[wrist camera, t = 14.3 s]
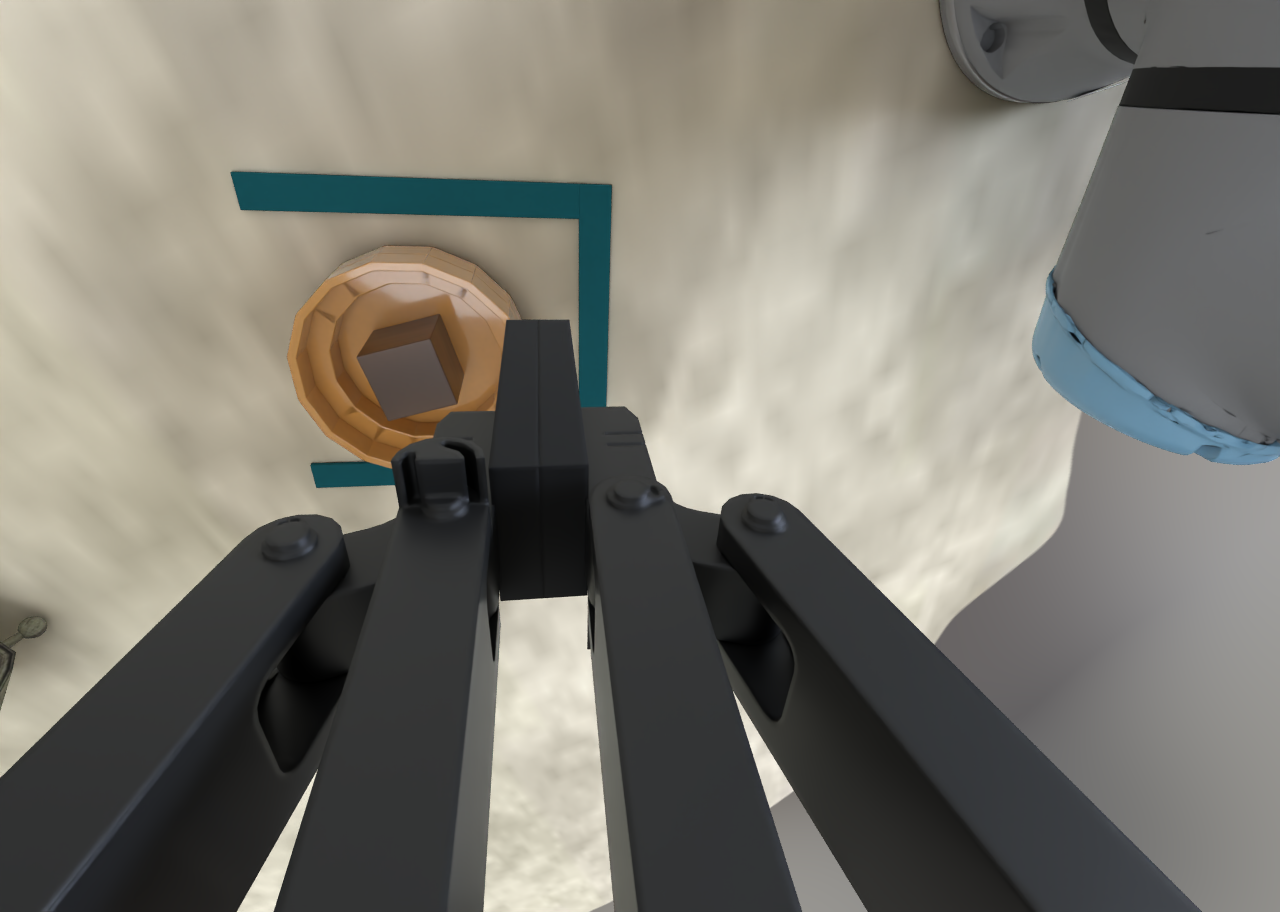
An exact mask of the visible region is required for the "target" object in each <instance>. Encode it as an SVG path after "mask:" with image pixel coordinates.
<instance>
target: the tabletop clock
mask: <svg viewBox="0 0 1280 912" xmlns="http://www.w3.org/2000/svg"><path fill="white" fill-rule="evenodd" d="M46 628H47V624H46V621H45V620H44V619H43V618H40V617H30V618H27V619H25V620H23V621H22V622H21V623H20V625H19V626H18V633H16V634H15V635H13V636H11V637H9V638H8V639H6V640H4V641H2V642H0V710H1V707H2V703H3V700H4V696H5V693H6V690H7V686H8V683H9V680H10V676H11V673H12V669H13V664H14V660H15V655H16V652H15V651H13V650H12V649H10V648H11V647H12V646H13V645H15V644H16V643H17V642H18V641H20V640H21V639H22V638H36V637H39V636H40V635H42V634H43V633H44V632H45V630H46Z"/></svg>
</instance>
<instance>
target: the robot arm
mask: <svg viewBox="0 0 1280 912" xmlns="http://www.w3.org/2000/svg"><path fill="white" fill-rule="evenodd" d="M939 1H940V11H941V19H942V24H943V29H944V33H945V36H946V40H947V43H948V45H949V48H950V50H951V53H952V55H953V57H954V59H955V60H956V62H957V64H958V66H959V67H960V68H961V70H962V71H963V73H964V74H965V75H966V76H967V77H968V78H969V79H970V81H971V82H972V83H974V84H975V85H976V86H977V87H979V88H980V89H981V90H983V91H985V92H986V93H988V94H990V95H992V96H994V97H997V98H999V99H1003V100H1007V101H1013V102H1022V103H1049V102H1057V101H1061V100H1067V99H1072V98H1075V99H1078V98H1081V97H1084V96H1087V95H1090V94H1093V93H1096V92H1099V91H1102V90H1105V89H1108V88H1111V87H1114V86H1117V85H1119V84H1122V83H1124V82H1122V83H1119V84H1116V85H1113V86H1110V87H1107V88H1104V89H1101V88H1103V87H1106V86H1108V85H1110V84H1113V83H1115V82H1118V81H1120V80H1123V79H1125V78H1127V77H1130V78H1129V80H1128V83H1127V86H1126V89H1125V91H1124V94H1123V97H1122V99H1121V102H1120V104H1119V106H1118V108H1117V110H1116V113H1115V115H1114V118H1113V121H1112V123H1111V126H1110V129H1109V131H1108V134H1107V136H1106V139H1105V142H1104V144H1103V147H1102V150H1101V152H1100V155H1099V158H1098V160H1097V163H1096V165H1095V168H1094V171H1093V173H1092V176H1091V179H1090V181H1089V184H1088V186H1087V189H1086V192H1085V194H1084V197H1083V199H1082V202H1081V204H1080V207H1079V209H1078V212H1077V214H1076V217H1075V219H1074V222H1073V224H1072V227H1071V229H1070V232H1069V234H1068V237H1067V239H1066V242H1065V244H1064V247H1063V249H1062V252H1061V254H1060V257H1059V259H1058V262H1057V264H1056V265H1055V266H1054V268H1053V270H1052V271H1051V272H1050V273H1049V276H1048V278H1047V281H1046V298H1045V301H1044V304H1043V307H1042V310H1041V313H1040V316H1039V319H1038V322H1037V325H1036V328H1035V331H1034V335H1033V340H1032V351H1033V356H1034V359H1035V361H1036V364H1037V366H1038V368H1039V369H1040V370H1041V371H1042V374H1043V376H1044V378H1045V379H1046V381H1047V382H1048V383H1049V384H1050V385H1051V386H1052V388H1053V389H1054V390H1056V391H1057V392H1058V393H1059V394H1060V395H1061V396H1062V397H1063V398H1065V399H1066V400H1067V401H1068V402H1070V403H1071V404H1072V405H1074V406H1075V407H1077V408H1078V409H1080V410H1081V411H1083V412H1084V413H1086V414H1087V415H1089V416H1091V417H1093V418H1094V419H1096V420H1098V421H1100V422H1101V423H1103V424H1105V425H1107V426H1109V427H1111V428H1113V429H1115V430H1117V431H1119V432H1121V433H1123V434H1126V435H1128V436H1130V437H1132V438H1134V439H1137V440H1139V441H1142V442H1144V443H1147V444H1149V445H1152V446H1155V447H1158V448H1161V449H1164V450H1167V451H1170V452H1174V453H1177V454H1181V455H1189V454H1191V453H1193V452H1194V453H1196V454H1198V455H1200V456H1202V457H1204V458H1205V459H1207V460H1209V461H1211V462H1217V463H1223V464H1233V465H1250V464H1258V463H1266V462H1269V461H1272V460H1274V459H1276V458H1278V457H1280V0H939ZM1125 82H1127V81H1125ZM1098 89H1101V90H1098ZM1096 90H1098V91H1096ZM1093 91H1095V92H1093ZM1091 92H1092V93H1091ZM1082 95H1083V96H1082ZM1079 96H1080V97H1079ZM1076 97H1078V98H1076ZM1075 99H1073V100H1075ZM1070 101H1072V100H1070ZM1068 102H1069V101H1068ZM391 466H392V471H393V476H394V482H395V487H396V492H397V497H398V503H399V510H398V513H397V516H396V518H395V519H393V520H391V521H388V522H386V523H384V524H381V525H378V526H375V527H372V528H368V529H364V530H360V531H356V532H352V533H348V534H344V535H343V533H342V530H341V526H340V525H339V524H338V523H337V522H335V521H334V520H333V519H332V518H328V517H324V516H321V515H317V514H316V515H295V516H290V517H285V518H282V519H278V520H275V521H273V522H271V523H268V524H266V525H264V526H262V527H259V528H258V529H257V530H255V531H254V532H252V533H251V534H250V535H248V536H247V537H246V538H244V539H243V540H242V541H241V542H240V543H239V544H238V545H237V546H236V547H235V548H234V549H233V550H232V551H231V552H230V553H229V554H228V555H227V556H226V557H225V558H224V559H223V560H222V561H221V562H220V563H219V564H218V565H217V566H216V567H215V568H214V569H213V570H212V571H211V572H210V573H209V574H208V575H207V576H206V577H205V578H204V579H203V580H202V581H201V582H200V583H199V584H197V585H196V586H195V587H194V588H193V589H192V590H191V591H190V592H189V593H188V594H187V595H186V596H185V597H184V598H183V599H182V600H181V601H180V602H179V603H178V604H177V605H176V606H175V607H174V608H173V609H172V610H171V611H170V612H169V613H168V614H167V615H166V616H165V617H164V618H163V619H162V620H161V621H160V622H159V623H158V624H157V625H156V626H155V627H154V628H153V629H152V630H151V631H150V632H149V633H148V634H147V635H146V636H145V637H143V638H142V639H141V640H140V641H139V642H138V643H137V644H136V645H135V646H134V647H133V648H132V649H131V650H130V651H129V652H128V653H127V654H126V655H125V656H124V657H123V658H122V659H121V660H120V661H119V662H118V663H117V664H116V665H115V666H114V667H113V668H112V669H111V670H110V671H109V672H108V673H107V674H106V675H105V676H104V677H103V678H102V679H101V680H100V681H99V682H98V683H97V684H96V685H95V686H94V687H93V688H92V689H91V690H89V691H88V692H87V693H86V694H85V695H84V696H83V697H82V698H81V699H80V700H79V701H78V702H77V703H76V704H75V705H74V706H73V707H72V708H71V709H70V710H69V711H68V712H67V713H66V714H65V715H64V716H63V717H62V718H61V719H60V720H59V721H58V722H57V723H56V724H55V725H54V726H53V727H52V728H51V729H50V730H49V731H48V732H47V733H46V734H45V735H44V736H43V737H42V738H41V739H40V740H39V741H38V742H37V743H35V744H34V745H33V746H32V747H31V748H30V749H29V750H28V751H27V752H26V753H25V754H24V755H23V756H22V757H21V758H20V759H19V760H18V761H17V762H16V763H15V764H14V765H13V766H12V767H11V768H10V769H9V770H8V771H7V772H6V773H5V774H4V775H3V776H2V777H1V778H0V912H237V910H238V908H239V907H240V905H241V903H242V901H243V900H244V898H245V896H246V894H247V893H248V891H249V889H250V887H251V885H252V884H253V882H254V880H255V878H256V877H257V875H258V873H259V871H260V870H261V868H262V866H263V864H264V863H265V861H266V859H267V857H268V856H269V854H270V852H271V850H272V849H273V847H274V845H275V843H276V842H277V840H278V838H279V836H280V835H281V833H282V831H283V829H284V827H285V826H286V824H287V822H288V820H289V819H290V817H291V815H292V813H293V812H294V810H295V808H296V806H297V805H298V803H299V801H300V799H301V798H302V796H303V794H304V792H305V791H306V789H307V787H308V785H309V784H310V782H311V780H312V778H313V777H314V775H315V773H316V771H317V769H318V771H317V774H316V777H315V780H314V784H313V787H312V790H311V793H310V796H309V800H308V803H307V806H306V809H305V813H304V816H303V819H302V822H301V825H300V829H299V832H298V835H297V838H296V842H295V845H294V848H293V851H292V854H291V858H290V861H289V864H288V867H287V871H286V874H285V877H284V880H283V883H282V887H281V890H280V893H279V896H278V899H277V903H276V906H275V909H274V912H483V907H484V890H485V874H486V857H487V841H488V824H489V808H490V791H491V775H492V759H493V742H494V726H495V709H496V693H497V676H498V660H499V644H500V627H501V623H500V612H499V590H500V600H501V601H507V600H523V599H538V598H554V597H569V596H585V595H587V590H588V642H587V649H591V659H592V670H593V681H594V692H595V703H596V714H597V726H598V737H599V748H600V759H601V770H602V781H603V792H604V803H605V814H606V825H607V836H608V847H609V858H610V869H611V880H612V891H613V902H614V912H802V910H801V906H800V903H799V901H798V897H797V894H796V891H795V887H794V884H793V881H792V878H791V875H790V872H789V868H788V865H787V862H786V859H785V856H784V852H783V849H782V846H781V843H780V840H779V837H778V833H777V831H776V827H775V824H774V821H773V817H772V814H771V811H770V808H769V805H768V802H767V798H766V795H765V792H764V789H763V786H762V783H761V779H760V776H759V773H758V770H757V767H756V763H755V760H754V757H753V754H752V751H751V748H750V744H749V741H748V738H747V735H746V732H745V729H744V725H743V722H742V719H741V716H740V713H739V709H738V706H737V703H736V700H735V697H734V694H733V691H734V693H735V695H736V696H737V698H738V700H739V701H740V703H741V705H742V706H743V708H744V709H745V711H746V713H747V714H748V716H749V718H750V719H751V721H752V723H753V724H754V726H755V727H756V729H757V731H758V732H759V734H760V736H761V737H762V739H763V741H764V742H765V744H766V746H767V747H768V749H769V750H770V752H771V754H772V755H773V757H774V759H775V760H776V762H777V764H778V765H779V767H780V768H781V770H782V772H783V773H784V775H785V777H786V778H787V780H788V782H789V783H790V785H791V786H792V788H793V790H794V791H795V793H796V795H797V796H798V798H799V799H800V801H801V803H802V804H803V806H804V808H805V809H806V811H807V813H808V814H809V816H810V818H811V819H812V821H813V823H814V824H815V826H816V827H817V829H818V831H819V832H820V834H821V836H822V837H823V839H824V841H825V842H826V844H827V845H828V847H829V849H830V850H831V852H832V854H833V855H834V857H835V859H836V860H837V862H838V863H839V865H840V866H841V868H842V870H843V872H844V873H845V875H846V877H847V878H848V880H849V882H850V883H851V885H852V886H853V888H854V890H855V891H856V893H857V895H858V896H859V898H860V900H861V901H862V903H863V905H864V906H865V908H866V909H867V911H868V912H1202V911H1201V910H1200V909H1199V908H1198V907H1197V906H1195V904H1194V903H1193V902H1192V901H1191V900H1190V899H1189V898H1188V897H1187V896H1185V894H1183V892H1182V891H1181V890H1180V889H1179V888H1178V887H1176V885H1175V884H1174V883H1173V882H1172V881H1171V880H1170V879H1168V877H1167V876H1166V875H1165V874H1164V873H1163V872H1162V871H1161V870H1160V869H1159V868H1158V867H1157V866H1156V865H1155V864H1154V863H1152V861H1151V860H1149V858H1147V856H1146V855H1145V854H1144V853H1143V852H1142V851H1141V850H1139V848H1138V847H1137V846H1135V845H1134V844H1133V842H1132V841H1131V840H1129V838H1127V837H1126V836H1125V835H1124V834H1123V833H1122V832H1121V831H1120V830H1119V829H1118V828H1117V827H1116V826H1115V825H1114V824H1113V823H1112V822H1111V821H1110V820H1109V819H1108V818H1107V817H1106V816H1105V815H1104V814H1103V813H1102V812H1101V811H1100V810H1099V809H1098V808H1097V807H1096V806H1095V805H1094V804H1093V803H1092V802H1091V801H1090V800H1089V799H1088V798H1087V797H1086V796H1085V795H1084V794H1083V793H1082V792H1081V791H1080V790H1079V789H1078V788H1077V787H1076V786H1075V785H1074V784H1073V783H1072V782H1071V781H1070V780H1069V779H1068V778H1067V777H1066V776H1065V775H1064V774H1063V773H1062V772H1061V771H1060V770H1059V769H1058V768H1057V767H1056V766H1055V765H1054V764H1053V763H1052V762H1051V761H1050V760H1049V759H1048V758H1047V757H1046V756H1045V755H1044V754H1043V753H1042V752H1041V751H1040V750H1039V749H1038V748H1037V747H1036V746H1035V745H1034V744H1033V743H1032V742H1031V741H1030V740H1029V739H1028V738H1027V737H1026V736H1025V735H1024V734H1023V733H1022V732H1021V731H1020V730H1019V729H1018V728H1017V727H1016V726H1015V725H1014V724H1013V723H1012V722H1011V721H1010V720H1009V719H1008V718H1007V717H1006V716H1005V715H1004V714H1003V713H1002V712H1001V711H1000V710H999V709H998V708H997V707H996V706H995V705H994V704H993V703H992V702H991V701H990V700H989V699H988V698H987V697H986V696H985V695H984V694H983V693H982V692H981V691H980V690H979V689H978V688H977V687H976V686H975V685H974V684H973V683H972V682H971V681H970V680H969V679H968V678H967V677H966V676H965V675H964V674H963V673H962V672H961V671H960V670H959V669H958V668H957V667H956V666H955V665H954V664H953V663H952V662H951V661H950V660H949V659H948V658H947V657H946V656H945V655H944V654H943V653H942V652H941V651H940V650H939V649H938V648H937V647H936V646H935V645H934V644H933V643H932V642H931V641H930V640H929V639H928V638H927V637H926V636H925V635H924V634H923V633H922V632H921V631H920V630H919V629H918V628H917V627H916V626H915V625H914V624H913V623H912V622H911V621H910V620H909V619H908V618H907V617H906V616H905V615H904V614H903V613H902V612H901V611H900V610H899V609H898V608H897V607H896V606H895V605H894V604H893V603H892V602H891V601H890V600H889V599H888V598H887V597H886V596H885V595H884V594H883V593H882V592H881V591H880V590H879V589H878V588H877V587H876V586H875V585H874V584H873V583H872V582H871V581H870V580H869V579H868V578H867V577H866V576H865V575H864V574H863V573H862V572H861V571H860V570H859V569H858V568H857V567H856V566H855V565H854V564H853V563H852V562H851V561H850V560H849V559H848V558H847V557H846V556H845V555H844V554H843V553H842V552H841V551H840V550H839V549H838V548H837V547H836V546H835V545H834V544H833V543H832V542H831V541H830V540H829V539H828V538H827V537H826V536H825V535H824V534H823V533H822V532H821V531H820V530H819V529H818V528H817V527H816V526H815V525H814V524H813V523H812V522H811V521H810V520H809V519H808V518H807V517H806V516H805V515H804V514H803V513H802V512H800V511H799V510H798V509H797V508H795V507H794V506H793V505H791V504H790V503H789V502H787V501H784V500H782V499H779V498H777V497H774V496H770V495H764V494H758V493H754V494H741V495H739V496H736V497H733V498H730V499H729V500H728V501H727V502H726V503H725V504H724V505H723V506H722V510H721V515H720V514H714V513H708V512H702V511H697V510H693V509H689V508H686V507H683V506H681V505H678V504H676V503H674V502H673V500H672V497H671V494H670V493H669V491H668V490H667V488H666V487H665V486H664V485H662V484H661V483H659V482H657V481H656V477H655V474H654V471H653V467H652V464H651V460H650V457H649V454H648V450H647V447H646V445H645V440H644V437H643V434H642V430H641V427H640V423H639V420H638V418H637V417H636V416H635V415H634V414H633V413H632V412H630V411H629V410H628V409H627V408H626V407H581V404H580V396H579V389H578V381H577V374H576V367H575V359H574V352H573V344H572V337H571V329H570V322H569V320H506V327H505V335H504V343H503V351H502V359H501V368H500V376H499V384H498V392H497V401H496V409H495V411H459V412H450V413H449V414H448V415H447V416H446V417H444V418H443V419H442V420H441V421H440V422H439V423H438V424H437V425H436V429H435V432H434V436H433V438H429V439H424V440H421V441H418V442H415V443H412V444H409V445H408V446H406V447H404V448H403V449H401V450H399V451H398V452H397V453H396V454H395V456H394V457H393V458H392V460H391Z"/></svg>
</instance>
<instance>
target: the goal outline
mask: <svg viewBox="0 0 1280 912" xmlns="http://www.w3.org/2000/svg"><path fill="white" fill-rule="evenodd" d="M231 176H232V180H233V184H234V187H235V191H236V195H237V198H238V202H239V206H240V209H241V210H263V211H301V212H338V213H376V214H414V215H452V216H489V217H527V218H565V219H579V396H580V404H581V407H606V393H607V354H608V315H609V277H610V238H611V199H612V185H602V184H574V183H545V182H517V181H488V180H460V179H431V178H402V177H374V176H345V175H317V174H288V173H259V172H231ZM310 466H311V470H312V473H313V477H314V481H315V484H316V488H326V487H353V486H381V485H395V482H394V476H393V471H392V469H391V468H387V467H384V466H380V465H377V464H373V463H370V462H341V463H312V464H311V465H310Z"/></svg>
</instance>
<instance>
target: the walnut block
mask: <svg viewBox="0 0 1280 912" xmlns="http://www.w3.org/2000/svg"><path fill="white" fill-rule="evenodd" d="M356 358H357V360H358V362H359V364H360V366H361V368H362V370H363V372H364V374H365V376H366V378H367V380H368V382H369V384H370V386H371V388H372V390H373V392H374V394H375V396H376V398H377V400H378V402H379V404H380V406H381V408H382V410H383V412H384V414H385V416H386V418H387V420H388V421H392V420H396V419H400V418H404V417H408V416H412V415H416V414H420V413H424V412H428V411H432V410H436V409H440V408H444V407H448V406H452V405H456V404H458V399H459V395H460V391H461V387H462V383H463V379H464V372H463V370H462V367H461V365H460V362H459V360H458V357H457V355H456V352H455V350H454V347H453V345H452V342H451V340H450V337H449V335H448V332H447V330H446V327H445V325H444V322H443V320H442V317H441V315H440V314H437V315H433V316H429V317H425V318H421V319H417V320H413V321H409V322H405V323H401V324H397V325H393V326H389V327H385V328H381V329H377V330H374V331H373V332H372V333H371V335H370V336H369V338H368V340H367V341H366V343H365V344H364V346H363V347H362V349H361V351H360V352H359V354H358V355H357V357H356Z"/></svg>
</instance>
